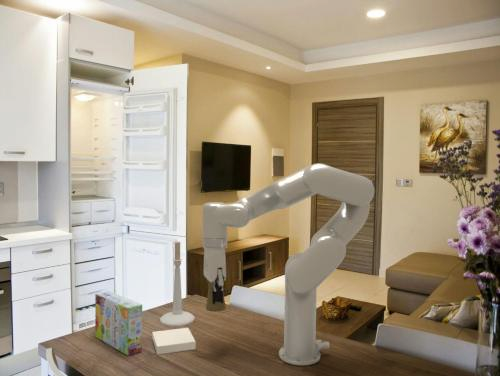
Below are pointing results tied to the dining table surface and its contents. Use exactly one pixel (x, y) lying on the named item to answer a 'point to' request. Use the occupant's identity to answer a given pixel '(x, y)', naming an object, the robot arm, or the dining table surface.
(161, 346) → the tile base
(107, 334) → the snack box
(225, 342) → the dining table surface
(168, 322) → the candlestick
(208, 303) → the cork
